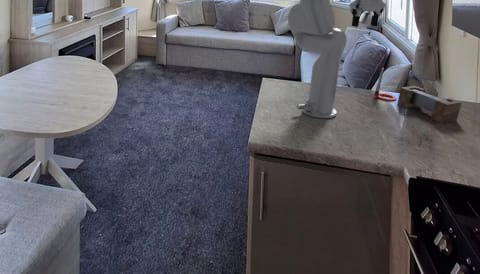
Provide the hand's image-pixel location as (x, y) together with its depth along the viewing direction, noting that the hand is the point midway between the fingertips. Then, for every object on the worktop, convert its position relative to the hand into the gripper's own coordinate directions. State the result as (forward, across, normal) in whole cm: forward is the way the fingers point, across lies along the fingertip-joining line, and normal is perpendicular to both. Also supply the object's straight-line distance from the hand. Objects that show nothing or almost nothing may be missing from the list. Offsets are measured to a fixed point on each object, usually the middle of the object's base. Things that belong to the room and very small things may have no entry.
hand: (364, 26), depth 155 cm
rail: (+28, +18, -23) cm, 41 cm away
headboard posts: (+30, +18, -23) cm, 42 cm away
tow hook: (+31, +16, -3) cm, 35 cm away
